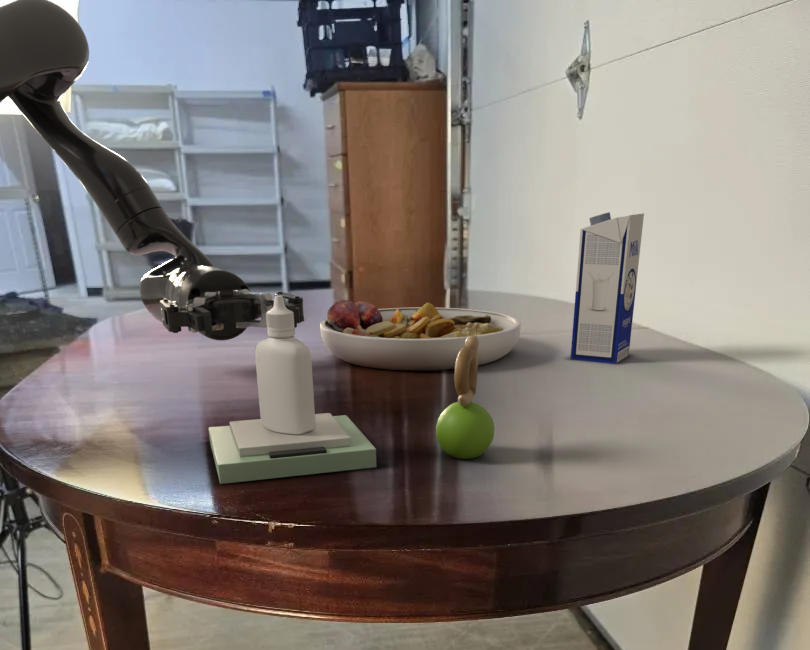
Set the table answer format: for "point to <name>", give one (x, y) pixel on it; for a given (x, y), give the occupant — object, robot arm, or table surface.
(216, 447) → the scale
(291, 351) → the eye dropper bottle
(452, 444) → the snail figurine
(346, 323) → the bowl
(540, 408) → the table surface
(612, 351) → the milk carton
